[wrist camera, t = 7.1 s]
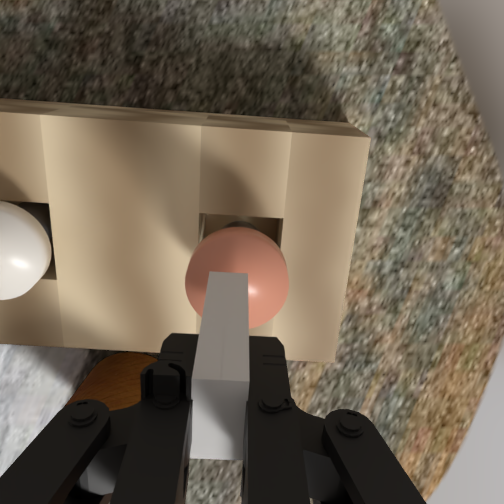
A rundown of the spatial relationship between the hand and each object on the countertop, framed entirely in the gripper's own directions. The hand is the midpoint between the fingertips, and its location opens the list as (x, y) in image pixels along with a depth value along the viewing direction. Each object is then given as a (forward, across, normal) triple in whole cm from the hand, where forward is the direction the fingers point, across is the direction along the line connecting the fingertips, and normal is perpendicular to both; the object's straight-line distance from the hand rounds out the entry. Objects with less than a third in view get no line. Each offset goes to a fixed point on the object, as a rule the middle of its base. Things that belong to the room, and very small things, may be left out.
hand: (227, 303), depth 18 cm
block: (+10, -5, 0) cm, 11 cm away
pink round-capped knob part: (+6, 0, 0) cm, 6 cm away
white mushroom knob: (+8, -11, 0) cm, 13 cm away
